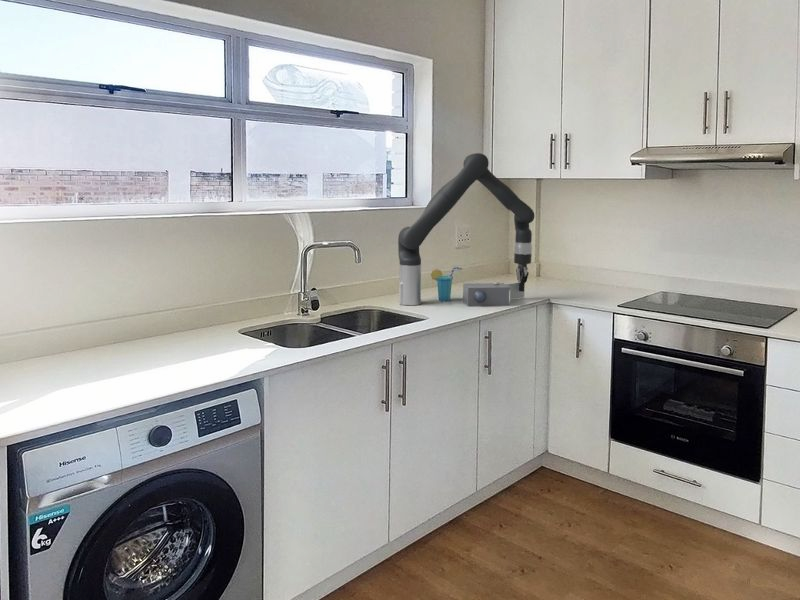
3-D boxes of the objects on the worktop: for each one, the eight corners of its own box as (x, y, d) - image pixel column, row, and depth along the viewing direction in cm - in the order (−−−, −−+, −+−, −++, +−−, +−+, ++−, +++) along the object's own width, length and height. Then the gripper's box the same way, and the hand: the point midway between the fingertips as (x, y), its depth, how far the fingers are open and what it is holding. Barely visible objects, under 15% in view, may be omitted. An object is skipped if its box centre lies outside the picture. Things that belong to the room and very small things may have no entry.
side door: (524, 297, 312) (524, 282, 311) (504, 300, 306) (504, 284, 304) (522, 297, 313) (522, 281, 312) (501, 299, 307) (502, 283, 306)
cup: (458, 298, 313) (458, 265, 310) (464, 301, 305) (464, 267, 302) (428, 299, 309) (429, 266, 306) (433, 302, 302) (434, 268, 299)
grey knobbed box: (468, 307, 291) (469, 286, 290) (462, 301, 305) (463, 281, 303) (510, 306, 293) (511, 286, 291) (503, 300, 306) (503, 281, 305)
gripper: (511, 251, 310) (509, 289, 313) (518, 254, 297) (516, 293, 300) (527, 251, 311) (525, 289, 314) (535, 254, 298) (533, 293, 301)
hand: (521, 291), depth 307 cm, fingers closed
